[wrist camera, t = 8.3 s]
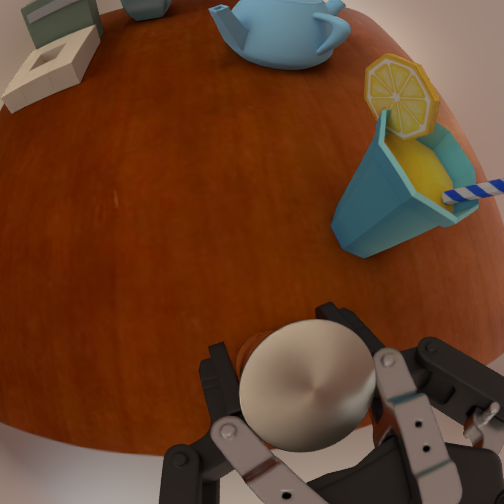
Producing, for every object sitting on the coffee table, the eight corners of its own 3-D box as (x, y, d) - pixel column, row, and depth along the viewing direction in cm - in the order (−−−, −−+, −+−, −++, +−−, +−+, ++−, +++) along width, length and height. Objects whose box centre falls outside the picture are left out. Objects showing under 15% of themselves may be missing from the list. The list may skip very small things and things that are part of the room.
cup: (435, 260, 21) (559, 192, 7) (398, 325, 19) (562, 288, 5) (331, 157, 23) (401, 22, 9) (276, 206, 21) (339, 33, 7)
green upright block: (41, 64, 27) (19, 10, 14) (49, 52, 28) (30, 1, 15) (98, 41, 29) (81, -21, 15) (103, 31, 30) (90, -27, 17)
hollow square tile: (11, 114, 23) (0, 98, 20) (38, 66, 27) (31, 52, 23) (80, 83, 25) (71, 62, 21) (100, 41, 29) (95, 24, 25)
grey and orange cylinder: (240, 404, 15) (253, 466, 7) (227, 334, 17) (226, 333, 8) (311, 389, 16) (382, 427, 7) (299, 321, 17) (364, 305, 9)
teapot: (351, 90, 27) (383, 20, 17) (208, 72, 26) (207, -10, 15) (331, 38, 32) (349, -15, 21) (224, 24, 31) (226, -33, 20)
